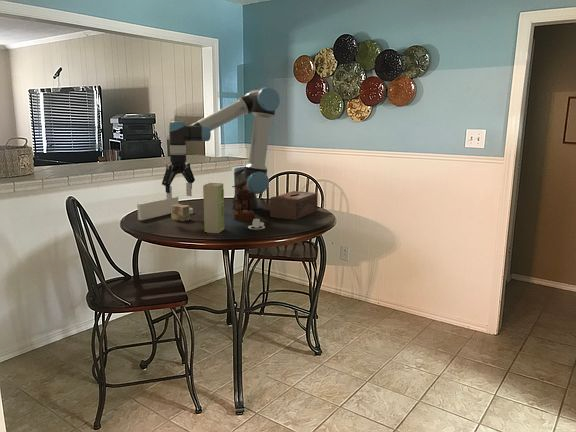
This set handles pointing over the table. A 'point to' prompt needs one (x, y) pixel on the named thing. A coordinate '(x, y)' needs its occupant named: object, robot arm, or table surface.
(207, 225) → the pale green tall block
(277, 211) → the tissue box cover
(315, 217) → the table surface
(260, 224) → the teacup and saucer
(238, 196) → the brown upright irregular piece
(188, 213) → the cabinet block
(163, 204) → the wall board
